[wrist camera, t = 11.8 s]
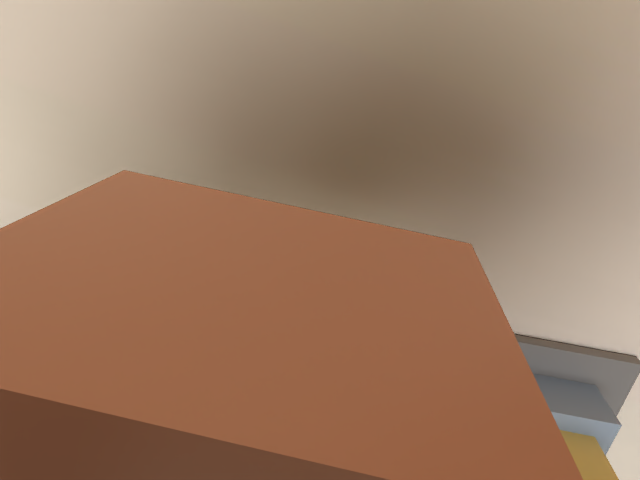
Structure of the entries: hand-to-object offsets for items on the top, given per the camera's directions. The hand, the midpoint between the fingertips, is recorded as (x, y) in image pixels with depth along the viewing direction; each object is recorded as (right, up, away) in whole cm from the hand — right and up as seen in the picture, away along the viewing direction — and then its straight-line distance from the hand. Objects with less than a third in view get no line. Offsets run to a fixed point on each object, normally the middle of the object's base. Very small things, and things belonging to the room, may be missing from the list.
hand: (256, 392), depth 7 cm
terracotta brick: (0, 0, +1) cm, 1 cm away
